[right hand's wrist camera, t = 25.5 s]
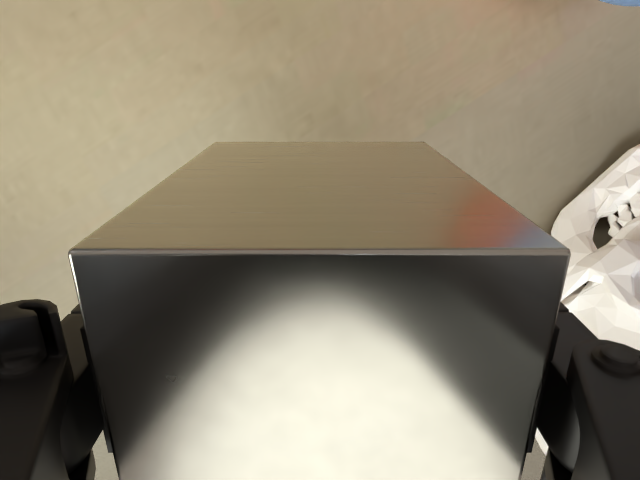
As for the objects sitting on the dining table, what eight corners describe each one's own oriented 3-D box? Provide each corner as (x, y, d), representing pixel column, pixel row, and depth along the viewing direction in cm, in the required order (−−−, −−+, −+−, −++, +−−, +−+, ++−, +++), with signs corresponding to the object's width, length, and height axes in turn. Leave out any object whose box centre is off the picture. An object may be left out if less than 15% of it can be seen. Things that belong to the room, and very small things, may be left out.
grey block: (425, 141, 14) (574, 249, 6) (409, 328, 16) (498, 587, 8) (213, 141, 14) (63, 250, 6) (229, 328, 16) (141, 588, 8)
